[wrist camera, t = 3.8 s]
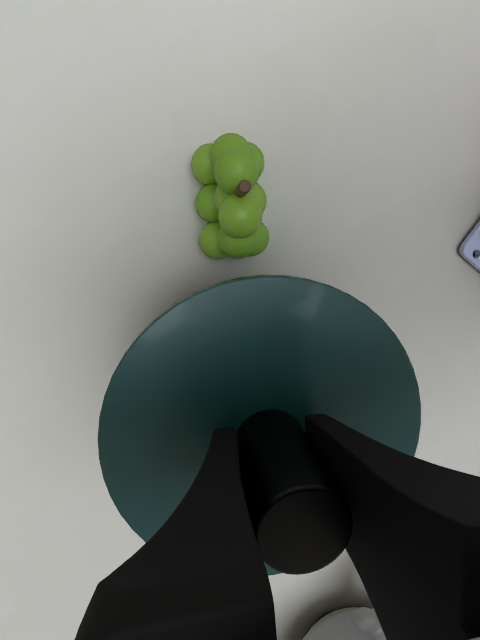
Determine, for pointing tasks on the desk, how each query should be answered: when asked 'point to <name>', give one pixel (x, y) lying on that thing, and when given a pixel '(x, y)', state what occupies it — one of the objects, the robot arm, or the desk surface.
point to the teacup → (347, 626)
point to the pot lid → (255, 407)
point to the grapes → (230, 197)
